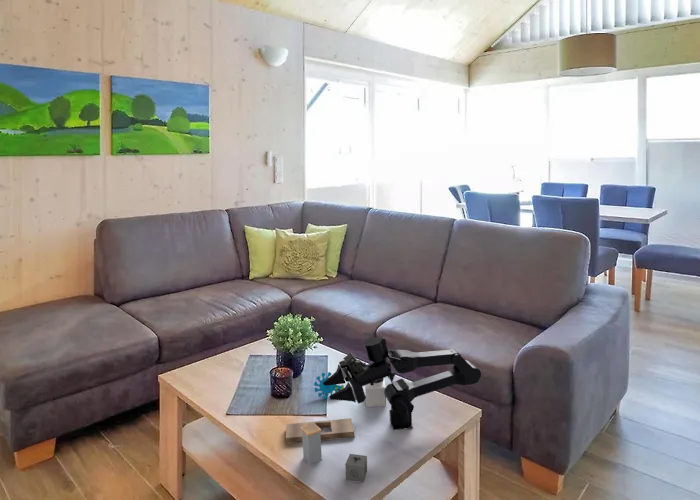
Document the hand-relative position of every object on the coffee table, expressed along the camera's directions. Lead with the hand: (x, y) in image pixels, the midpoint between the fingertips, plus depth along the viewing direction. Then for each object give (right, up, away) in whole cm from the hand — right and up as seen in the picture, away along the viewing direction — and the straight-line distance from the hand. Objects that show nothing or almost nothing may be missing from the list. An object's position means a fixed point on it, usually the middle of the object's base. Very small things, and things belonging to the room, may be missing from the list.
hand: (326, 390), depth 164 cm
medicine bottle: (+17, -11, +24) cm, 31 cm away
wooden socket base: (-2, -15, +5) cm, 16 cm away
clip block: (-4, -18, -7) cm, 20 cm away
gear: (0, -10, +30) cm, 32 cm away
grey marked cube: (+9, -20, -16) cm, 27 cm away
